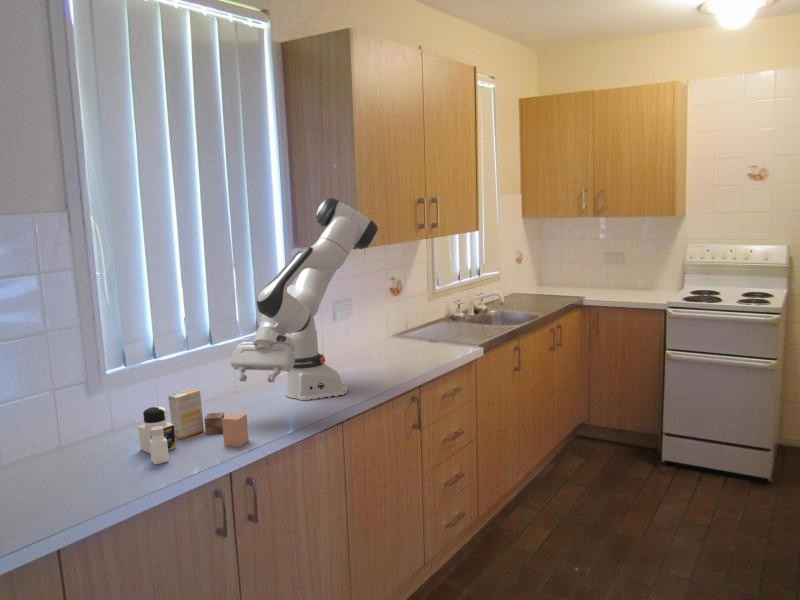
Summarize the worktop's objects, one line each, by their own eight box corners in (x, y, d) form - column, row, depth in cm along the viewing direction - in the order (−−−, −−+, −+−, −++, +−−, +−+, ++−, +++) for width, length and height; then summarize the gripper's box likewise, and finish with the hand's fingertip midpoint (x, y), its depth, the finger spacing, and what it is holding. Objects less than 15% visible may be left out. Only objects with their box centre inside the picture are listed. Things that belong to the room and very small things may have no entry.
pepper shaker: (166, 457, 180) (162, 424, 178) (169, 462, 176) (166, 428, 175) (150, 461, 178) (147, 427, 176) (154, 465, 174) (150, 431, 173)
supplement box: (195, 428, 203) (191, 387, 201) (204, 431, 200) (200, 390, 198) (171, 436, 196) (167, 394, 194) (180, 439, 193) (176, 397, 191)
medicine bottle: (153, 455, 182) (148, 414, 180) (140, 450, 186) (136, 409, 184) (176, 447, 187) (172, 407, 185) (163, 442, 192) (159, 403, 190)
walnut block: (225, 427, 202) (223, 412, 202) (222, 433, 198) (221, 417, 197) (208, 429, 202) (207, 413, 201) (205, 434, 197) (204, 418, 196)
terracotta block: (233, 439, 192) (231, 413, 191) (248, 440, 190) (246, 414, 189) (224, 445, 187) (222, 418, 186) (240, 446, 186) (237, 419, 184)
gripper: (234, 337, 207) (221, 375, 199) (294, 337, 202) (283, 376, 194) (241, 347, 212) (229, 385, 204) (300, 348, 207) (290, 387, 199)
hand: (256, 381), depth 199 cm, fingers open, 8 cm apart
